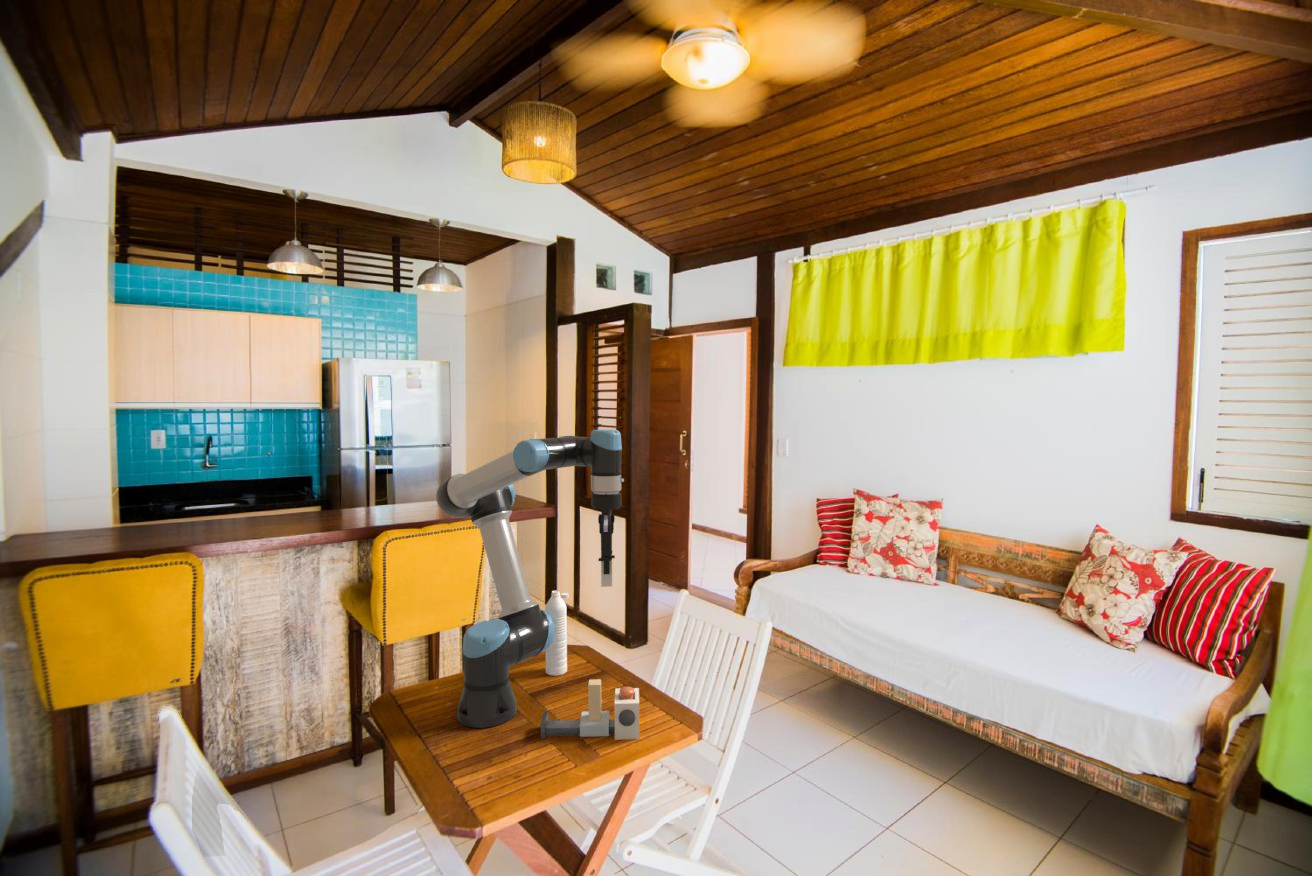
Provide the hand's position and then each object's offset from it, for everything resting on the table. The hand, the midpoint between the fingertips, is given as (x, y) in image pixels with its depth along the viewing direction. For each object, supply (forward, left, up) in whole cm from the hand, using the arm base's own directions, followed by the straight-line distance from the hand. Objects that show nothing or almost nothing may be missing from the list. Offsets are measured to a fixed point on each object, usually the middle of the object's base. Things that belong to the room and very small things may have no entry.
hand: (606, 585), depth 154 cm
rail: (-6, -2, -36) cm, 37 cm away
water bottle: (-16, +32, -37) cm, 51 cm away
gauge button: (+5, -2, -32) cm, 33 cm away
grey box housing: (+5, -2, -36) cm, 37 cm away
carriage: (-3, -2, -36) cm, 37 cm away
